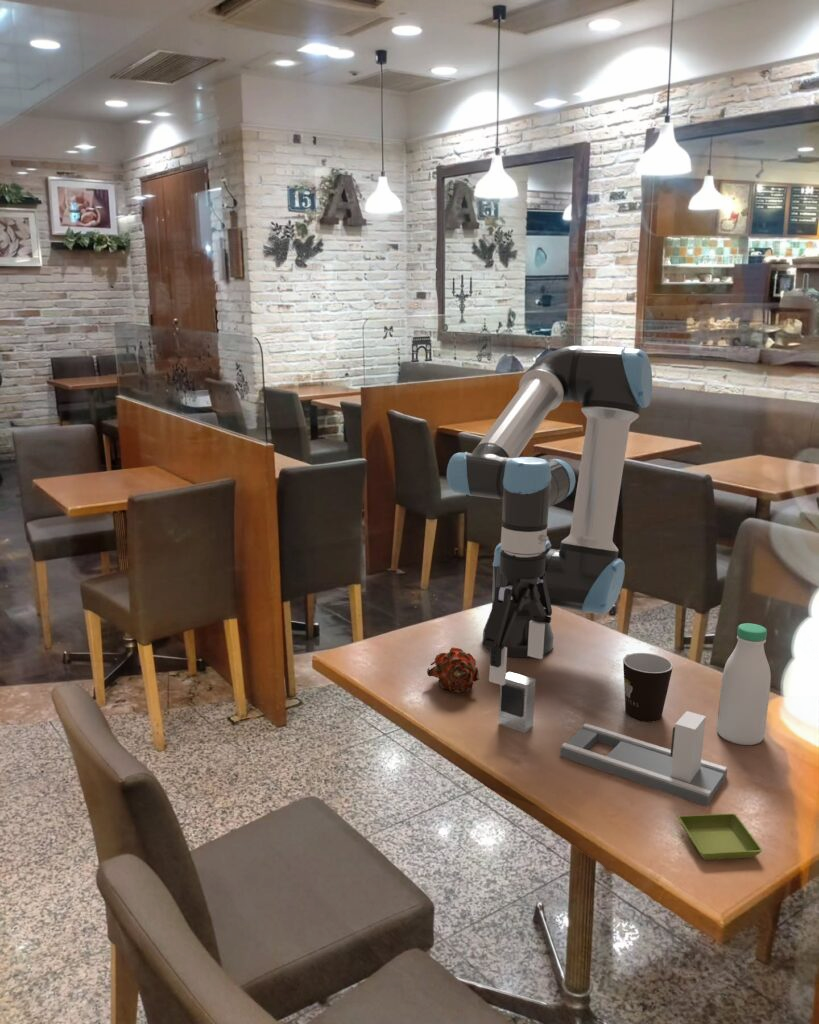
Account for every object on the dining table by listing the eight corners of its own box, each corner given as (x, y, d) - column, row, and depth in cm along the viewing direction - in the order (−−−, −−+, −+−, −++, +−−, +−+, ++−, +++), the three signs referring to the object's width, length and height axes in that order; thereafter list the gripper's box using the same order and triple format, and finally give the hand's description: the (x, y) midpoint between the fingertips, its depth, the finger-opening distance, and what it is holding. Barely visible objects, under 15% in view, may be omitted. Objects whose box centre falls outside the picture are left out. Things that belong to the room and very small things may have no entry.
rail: (585, 732, 152) (589, 676, 149) (726, 776, 139) (733, 716, 136) (560, 756, 144) (563, 698, 141) (706, 806, 131) (713, 743, 128)
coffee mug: (669, 727, 154) (675, 675, 151) (619, 722, 155) (623, 670, 153) (664, 697, 165) (669, 648, 162) (618, 693, 167) (621, 644, 164)
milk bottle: (772, 744, 148) (787, 635, 143) (730, 748, 147) (743, 637, 142) (748, 722, 156) (761, 617, 151) (708, 725, 155) (719, 620, 149)
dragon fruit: (467, 710, 162) (436, 693, 173) (497, 677, 165) (465, 662, 176) (442, 679, 159) (412, 664, 170) (473, 646, 162) (442, 633, 172)
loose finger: (532, 726, 154) (535, 679, 152) (523, 734, 151) (525, 686, 149) (506, 717, 157) (509, 671, 154) (497, 725, 154) (499, 678, 152)
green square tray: (762, 864, 118) (763, 850, 118) (699, 867, 118) (701, 853, 117) (733, 825, 127) (735, 813, 126) (675, 828, 126) (676, 815, 125)
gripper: (506, 573, 134) (500, 701, 139) (575, 539, 153) (568, 652, 159) (464, 564, 138) (459, 688, 143) (537, 532, 158) (531, 642, 163)
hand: (516, 669), depth 151 cm, fingers open, 13 cm apart
